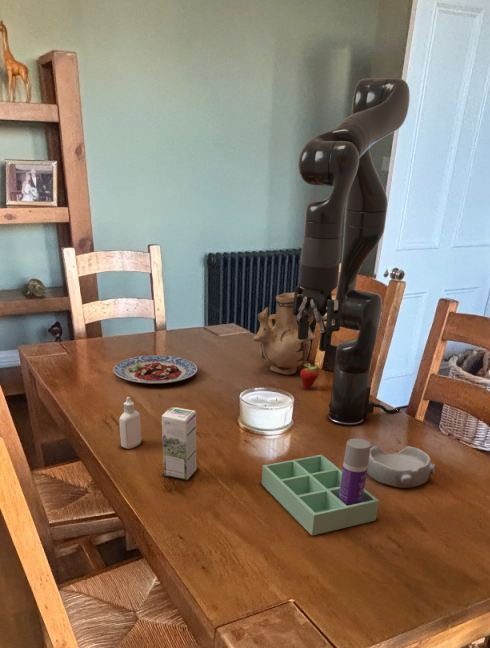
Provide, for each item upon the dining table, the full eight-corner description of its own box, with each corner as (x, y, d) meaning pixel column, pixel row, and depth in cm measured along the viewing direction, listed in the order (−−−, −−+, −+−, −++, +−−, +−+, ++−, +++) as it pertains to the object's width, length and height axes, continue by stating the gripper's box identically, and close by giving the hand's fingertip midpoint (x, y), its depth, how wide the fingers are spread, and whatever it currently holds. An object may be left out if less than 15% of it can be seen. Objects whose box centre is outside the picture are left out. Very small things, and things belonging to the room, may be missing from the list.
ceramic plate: (213, 372, 194) (213, 363, 193) (162, 396, 176) (162, 386, 174) (150, 356, 206) (150, 348, 204) (96, 377, 187) (95, 367, 185)
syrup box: (197, 469, 138) (197, 409, 130) (186, 481, 133) (185, 419, 125) (174, 465, 139) (172, 405, 132) (163, 476, 134) (160, 415, 127)
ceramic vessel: (261, 359, 207) (265, 282, 194) (317, 364, 204) (325, 286, 191) (250, 376, 192) (253, 294, 179) (310, 383, 189) (318, 299, 176)
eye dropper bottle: (146, 445, 147) (143, 398, 141) (124, 450, 145) (120, 402, 138) (138, 438, 150) (136, 392, 144) (117, 443, 148) (113, 396, 142)
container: (360, 518, 120) (371, 450, 113) (336, 515, 121) (345, 447, 113) (361, 506, 124) (371, 439, 116) (338, 503, 125) (346, 436, 117)
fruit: (319, 389, 184) (322, 364, 180) (306, 393, 181) (308, 366, 177) (308, 384, 187) (311, 359, 183) (295, 387, 185) (297, 361, 181)
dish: (353, 466, 141) (356, 447, 139) (403, 457, 146) (406, 438, 143) (390, 496, 130) (394, 475, 127) (442, 485, 135) (447, 465, 132)
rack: (319, 472, 138) (321, 454, 136) (375, 520, 122) (379, 500, 119) (261, 484, 133) (262, 465, 130) (311, 535, 116) (314, 515, 114)
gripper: (357, 267, 114) (347, 352, 123) (317, 254, 125) (310, 333, 133) (323, 270, 111) (315, 357, 120) (285, 256, 122) (280, 337, 131)
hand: (313, 344), depth 127 cm, fingers open, 8 cm apart
